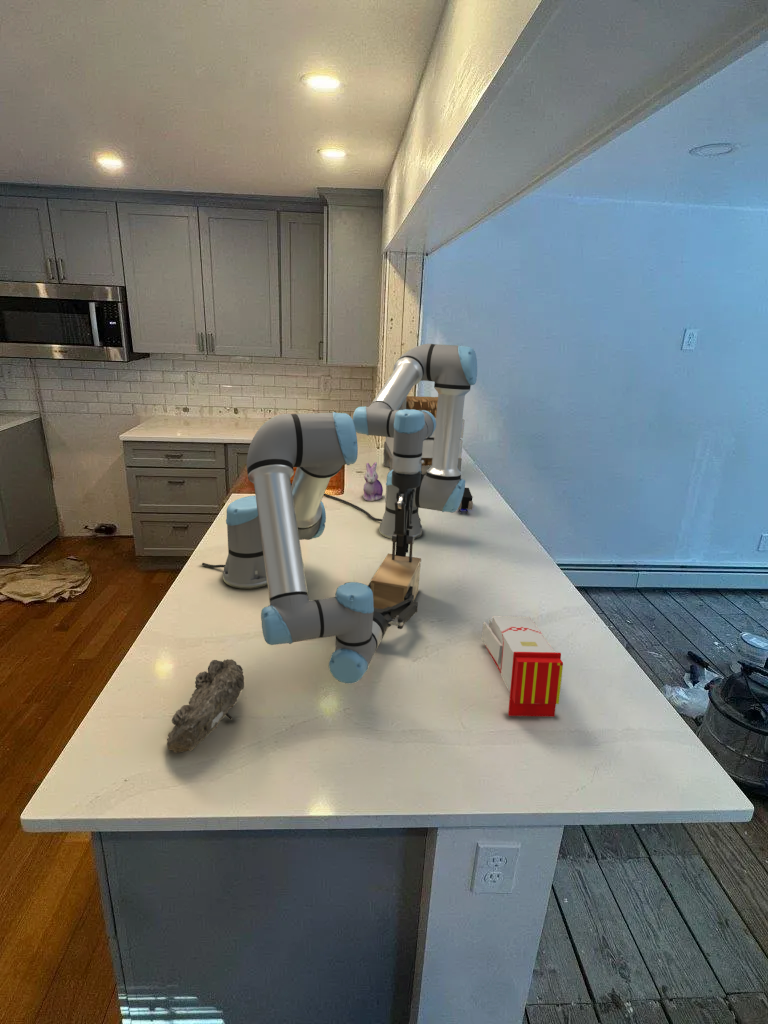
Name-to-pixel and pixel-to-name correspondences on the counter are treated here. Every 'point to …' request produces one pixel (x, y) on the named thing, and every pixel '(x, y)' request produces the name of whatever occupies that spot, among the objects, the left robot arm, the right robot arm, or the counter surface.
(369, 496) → the figurine
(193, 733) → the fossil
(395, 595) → the chest
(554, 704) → the toy
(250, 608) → the counter surface
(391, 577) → the lid
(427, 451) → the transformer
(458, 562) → the counter surface
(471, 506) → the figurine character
